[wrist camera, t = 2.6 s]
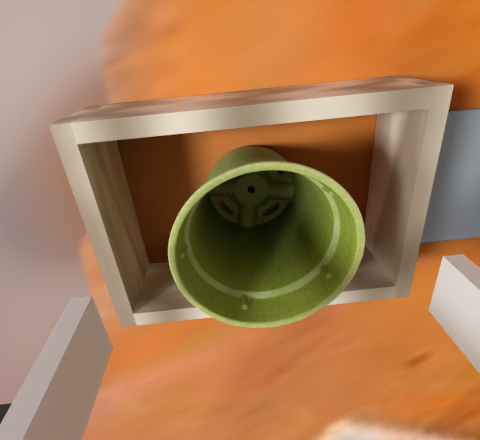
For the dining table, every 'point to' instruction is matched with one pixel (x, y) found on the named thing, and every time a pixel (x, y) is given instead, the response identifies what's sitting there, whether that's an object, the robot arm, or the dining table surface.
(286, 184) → the plant pot
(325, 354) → the dining table surface
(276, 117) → the frame
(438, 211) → the mat
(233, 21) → the dining table surface
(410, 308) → the dining table surface
